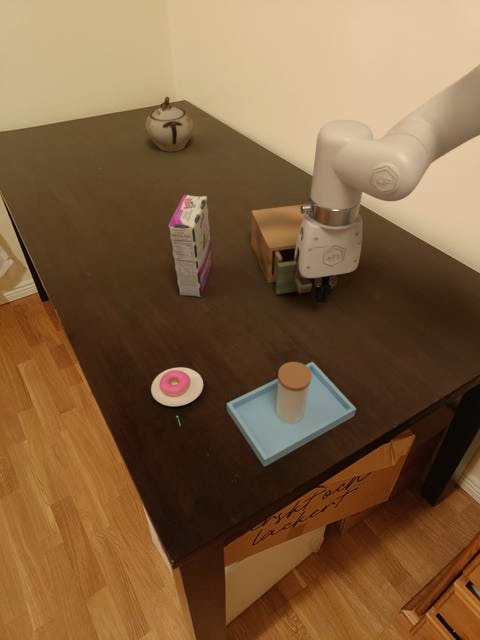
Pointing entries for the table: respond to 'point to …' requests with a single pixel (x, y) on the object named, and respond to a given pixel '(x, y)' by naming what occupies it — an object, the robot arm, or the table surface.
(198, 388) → the donut
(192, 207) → the candy bar box
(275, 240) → the cabinet
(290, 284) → the drawer
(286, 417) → the spice pot
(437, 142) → the robot arm
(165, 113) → the sugar bowl
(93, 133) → the table surface
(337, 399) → the tray
